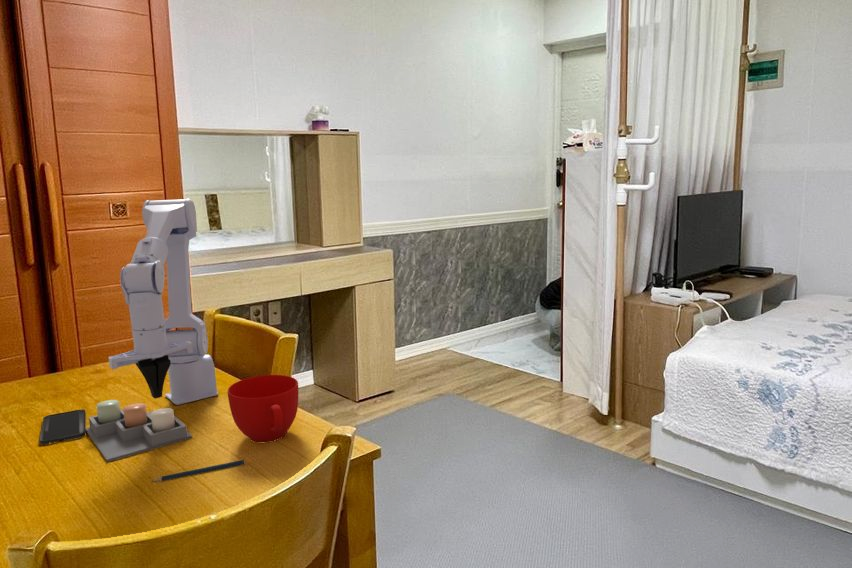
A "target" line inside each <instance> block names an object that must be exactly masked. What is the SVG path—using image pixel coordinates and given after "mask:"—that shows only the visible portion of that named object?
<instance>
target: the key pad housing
mask: <svg viewBox="0 0 852 568" xmlns="http://www.w3.org/2000/svg"><path fill="white" fill-rule="evenodd" d="M153 411H154V410H152V411H149V412H146V413H147V423H146V424H144V425H140V426H136V427H126V426H125V420H124V412H123V408H122V409H121V408H120V414H121V418H120V419H119V420H117V421H113V422H109V423H100V422H99V420H98V414H96V415H93V416H90V417H88V422H89V427H86V428H85V429H86V431H85V433H87V435H88V436H89V438H90V439H91V440H92V442H93V443H94V445H95V446H96V448H97V450H98V451H99V452H100V453H101V456H103V457H104V460H105V461H106V462H107V463H110V462H112V461H116V460H119V459H120V460H121V459H122V458H127V457H131V456H134V455H138V454H141V453H145V452H148V451H151V450H155V449H159V448H162V447H165V446H170V445H172V444H176V443H181V442H183V441H187V440H191V439H193V435H192V434H191V433H190V432H189V431H188V429H187V425H186V424H184V423H183V422H182V420H180V419H179V418H178V417H177V416H175V415H174V420H175V428H172V429H168V430H165V431H161V432H157V433H155V432H153V428H152V420H151V413H152V412H153Z"/></svg>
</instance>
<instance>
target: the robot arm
mask: <svg viewBox="0 0 852 568" xmlns="http://www.w3.org/2000/svg"><path fill="white" fill-rule="evenodd" d="M141 212H142V220H143V224H144V226H145V227H146V229H147V230H146V234H145V237H144V238H141V239H139V240H138V242H137V244H136V248H135V250H134V253H133V255H132V258H131V261H130V263H128V264H126V265H125V266H123V267H122V268H121V270H120V276H119V277H120V282H119V283H120V287H121V291H122V294H123V295H124V300H125V301H124V302H125V303H126V306H128V309H129V317H130V324H131V325H130V326H131V332H132V340H133V350H129V351H126V352H123V353H119V354H115V355H111V356H108V363H109V368H110V369H111V370H115V369H119V368H120V367H125V366H129V365H130V366H131V365H135V366H136V367H137V368H138V370H139V371H140V373H141V374H142V376H143V378H144V380H145V382H146V383H147V384H146V385H148V388H149V391H150V395H151V397H152V398H154V400H155V399H159V398H162V397H163V390H164V389H163V388H164V383H165V380H166V376H167V374H168V379H169V381H168V382H169V386H170V387H169V388H170V392H168V393H165V397H166V398H167V399H168V400H169V401H170V402H172V403H173V405H176V406H178V405H183V404H187V403H191V402H194V401H195V402H196V401H199V400H203V399H208V398H211V397H214V396H218V395H219V392H218V390H217V389H218V388H217V380H216V379H217V378H216V377H217V376H216V368H215V364H214V363H215V362H214V361H213V358H212V356H211V355H210V354H207V352H208V349H209V338H208V333H207V328H206V323H205V321H203V320H202V319H201V318H200V317H198V316H196V315H195V314H193V311H192V310H193V309H192V294H191V277H190V276H191V275H190V273H191V272H190V271H191V270H190V256H189V255H190V253H189V251H190V250H189V249H190V247H189V246H190V240H192V239H194V238H196V237H197V231H198V227H197V211H196V206H195V202H194V201H193V200H192V199H191V198H186V199H183V198H182V199H162V200H161V199H160V200H159V199H157V200H156V199H155V200H150V199H147V200H145V201H144V203H143V204H142V209H141ZM165 264H166V271H165V268H164V267H165ZM165 276H166V277H167V279H166V280H167V300H168V317H167V318H165V315H164V314H165V313H164V303H163V297H162V293H163V291H164V289H165ZM179 328H188V329H179ZM190 328H191V329H190ZM171 329H175V330H171Z"/></svg>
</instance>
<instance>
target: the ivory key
mask: <svg viewBox="0 0 852 568" xmlns="http://www.w3.org/2000/svg"><path fill="white" fill-rule="evenodd" d="M152 411H153V412H152ZM152 411H151V412H152V413H151V420H152V428H153V432H155V433H157V432H161V431H165V430H168V429H172V428H175V420H174V417H175V413H174V409H172V408H171V407H163V408H159V409H156V410H152Z"/></svg>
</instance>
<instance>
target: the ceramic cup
mask: <svg viewBox="0 0 852 568" xmlns="http://www.w3.org/2000/svg"><path fill="white" fill-rule="evenodd" d="M227 398H228V404H229V405H228V406H229V408H230V412H231V413H230V414H231V416H232V419H233V422H234V423H235V425H236V427H237V428H238V430H240V432H241V433H242V434H243V435H244V436H245V437H247V438H248V439H249V440H250V441H251V440H252V441H251V442H253V441H254V443H257V442H267V443H271V442H270V441H273V442H275V441H274V440H276V441H278V440H277V439H279V438H281V437H282V438H283V437H285V435H286V433H287V432H288V431H289V429H290V428H291V426H292V425H293V423H294V422H295V419H296V416H297V412H298V407H299V381H298V380H297V379H296V378H294V377H292V376H288V375H283V374H264V375H257V376H252V377H248V378H244V379H241V380H238V381H236V382H234V383H233V384H230V386H229V387H228V389H227ZM284 434H285V435H284ZM282 438H281V439H282ZM279 440H280V439H279Z"/></svg>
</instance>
